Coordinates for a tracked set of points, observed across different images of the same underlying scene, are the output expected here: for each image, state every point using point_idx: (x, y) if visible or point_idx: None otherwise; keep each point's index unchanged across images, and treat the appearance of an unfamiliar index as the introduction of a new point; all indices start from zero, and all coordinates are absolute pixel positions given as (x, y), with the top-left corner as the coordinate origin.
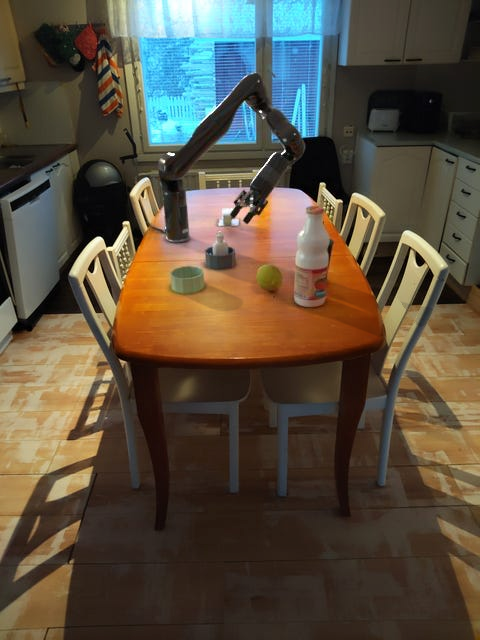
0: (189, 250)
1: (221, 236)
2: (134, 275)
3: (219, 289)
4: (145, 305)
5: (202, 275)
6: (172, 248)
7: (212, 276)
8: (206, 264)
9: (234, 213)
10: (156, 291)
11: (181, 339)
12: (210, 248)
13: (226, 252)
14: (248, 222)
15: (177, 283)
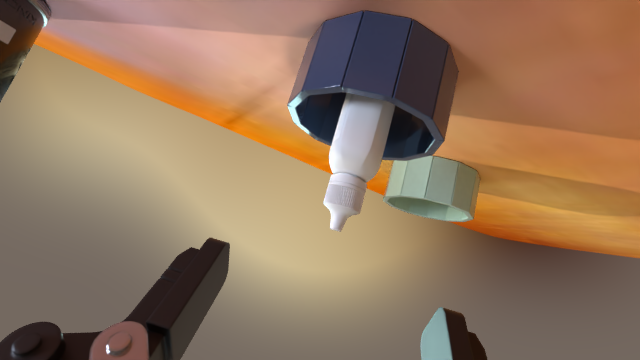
0: (157, 33)
1: (358, 212)
2: (298, 158)
3: (532, 172)
4: None
5: (471, 210)
6: (125, 49)
7: None
8: None
9: (211, 291)
10: None
11: (563, 239)
12: (301, 119)
13: (390, 117)
14: (475, 339)
15: (434, 206)
